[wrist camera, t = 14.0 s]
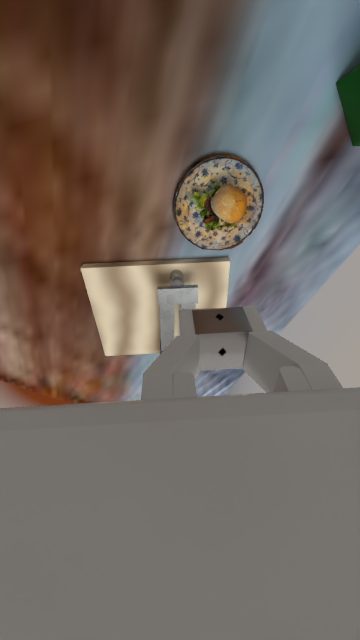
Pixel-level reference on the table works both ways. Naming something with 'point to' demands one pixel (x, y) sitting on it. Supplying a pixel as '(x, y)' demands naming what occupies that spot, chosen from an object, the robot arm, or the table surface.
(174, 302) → the tongs fixed
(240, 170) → the burger
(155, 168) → the table surface
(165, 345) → the tongs arm
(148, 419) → the robot arm
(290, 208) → the table surface
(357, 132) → the milk carton
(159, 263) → the board
